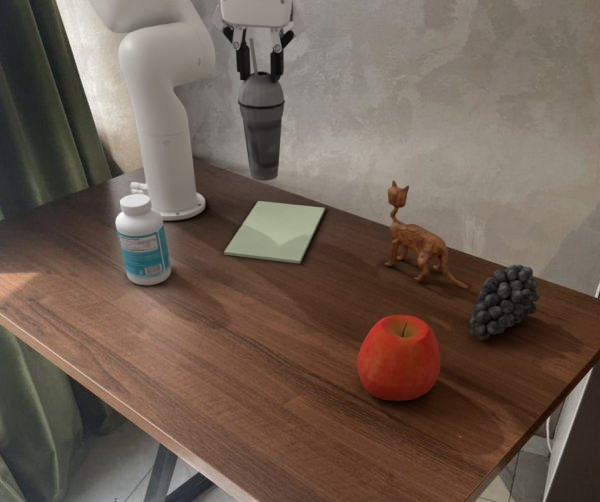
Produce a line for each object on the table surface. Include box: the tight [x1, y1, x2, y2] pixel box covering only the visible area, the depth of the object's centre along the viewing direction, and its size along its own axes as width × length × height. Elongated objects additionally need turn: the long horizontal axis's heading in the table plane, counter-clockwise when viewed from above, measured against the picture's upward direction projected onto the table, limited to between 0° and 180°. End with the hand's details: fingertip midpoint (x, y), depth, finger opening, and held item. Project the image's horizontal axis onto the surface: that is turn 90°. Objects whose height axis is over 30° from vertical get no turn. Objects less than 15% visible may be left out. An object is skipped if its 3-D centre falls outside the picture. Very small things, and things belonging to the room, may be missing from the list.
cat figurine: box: [383, 179, 470, 290], centre depth 99 cm, size 18×7×14 cm, turn 46°
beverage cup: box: [237, 37, 286, 182], centre depth 94 cm, size 7×7×20 cm
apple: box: [357, 314, 442, 402], centre depth 78 cm, size 11×11×11 cm
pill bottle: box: [115, 194, 172, 286], centre depth 98 cm, size 8×7×14 cm
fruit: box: [469, 264, 541, 341], centre depth 90 cm, size 9×8×15 cm
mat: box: [223, 200, 326, 265], centre depth 115 cm, size 14×22×1 cm, turn 167°
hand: (260, 77), depth 91 cm, fingers closed on beverage cup, 4 cm apart
